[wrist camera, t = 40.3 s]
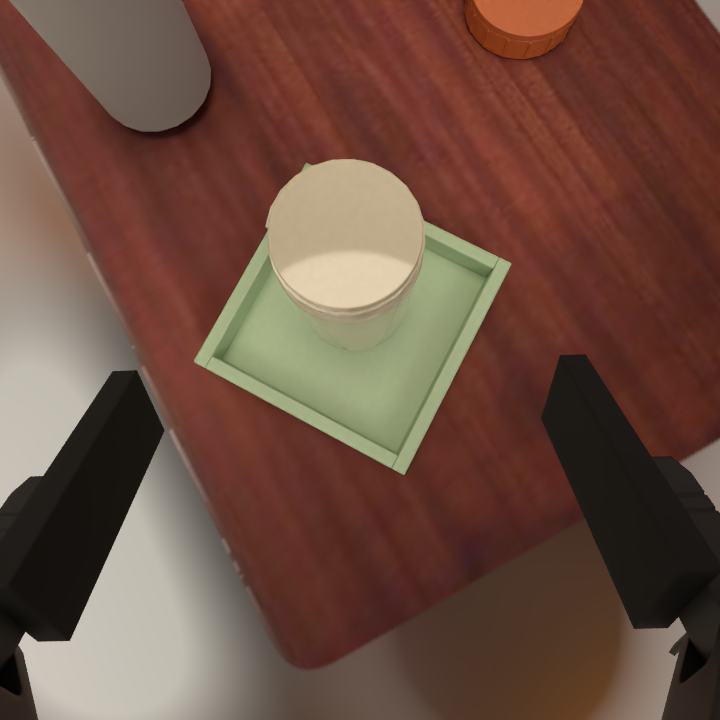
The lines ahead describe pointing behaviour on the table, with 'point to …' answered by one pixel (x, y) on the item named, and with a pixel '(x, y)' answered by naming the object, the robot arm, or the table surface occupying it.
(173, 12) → the can
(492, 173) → the table surface
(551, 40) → the lid
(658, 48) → the table surface
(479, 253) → the tray
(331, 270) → the jar
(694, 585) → the robot arm
